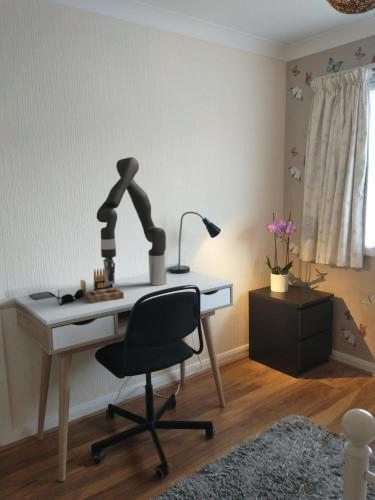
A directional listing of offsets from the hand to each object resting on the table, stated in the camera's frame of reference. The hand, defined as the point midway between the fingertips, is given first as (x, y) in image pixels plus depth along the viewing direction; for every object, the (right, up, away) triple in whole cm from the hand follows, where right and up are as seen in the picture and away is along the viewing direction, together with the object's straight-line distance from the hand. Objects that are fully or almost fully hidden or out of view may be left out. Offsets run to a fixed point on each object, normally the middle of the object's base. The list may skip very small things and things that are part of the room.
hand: (109, 280), depth 211 cm
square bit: (0, -2, 0) cm, 2 cm away
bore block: (-3, -9, 0) cm, 10 cm away
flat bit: (-15, -9, +6) cm, 18 cm away
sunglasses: (-23, -10, -1) cm, 25 cm away
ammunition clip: (-7, -7, +19) cm, 21 cm away
